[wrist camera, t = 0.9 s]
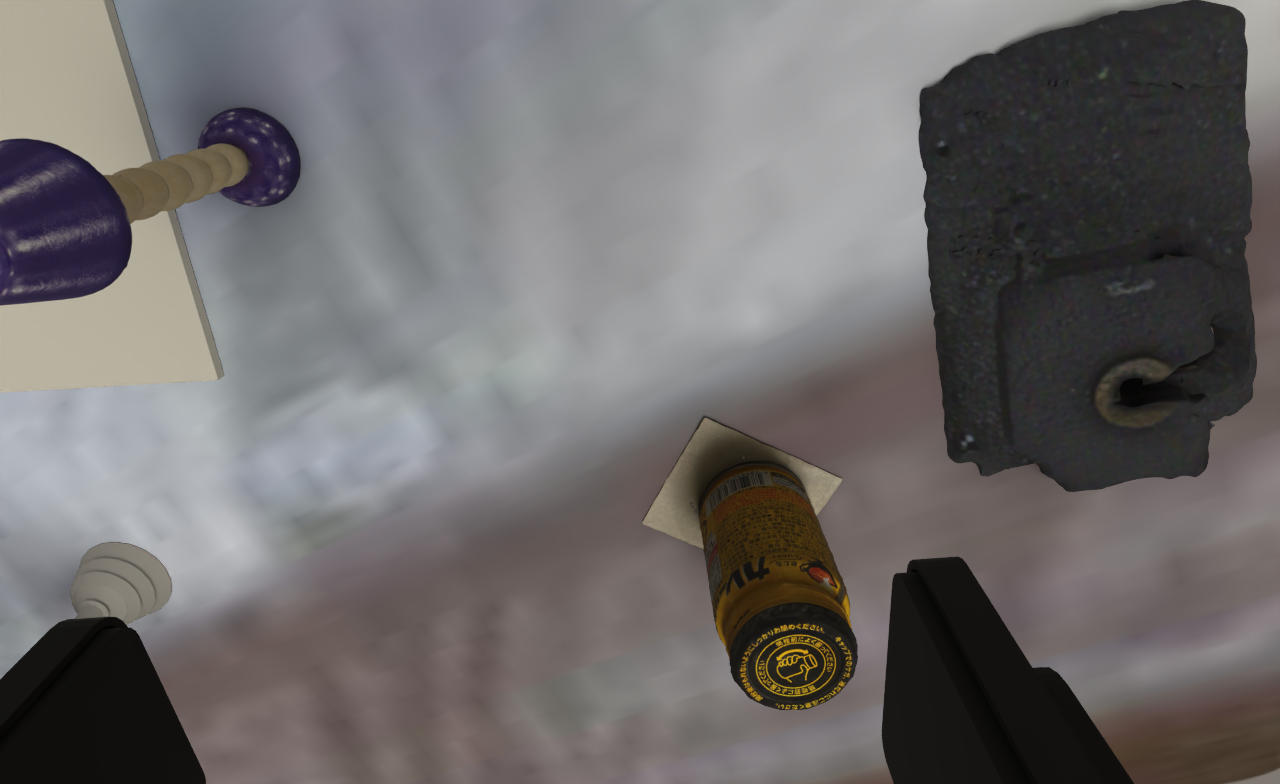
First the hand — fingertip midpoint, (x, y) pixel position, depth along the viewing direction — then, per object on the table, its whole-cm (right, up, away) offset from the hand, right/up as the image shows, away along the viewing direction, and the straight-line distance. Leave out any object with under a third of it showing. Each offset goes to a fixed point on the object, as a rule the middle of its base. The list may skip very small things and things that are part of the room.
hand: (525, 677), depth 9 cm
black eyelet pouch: (+23, +10, +27) cm, 37 cm away
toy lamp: (-16, +14, +25) cm, 33 cm away
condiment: (+7, -2, +32) cm, 33 cm away
